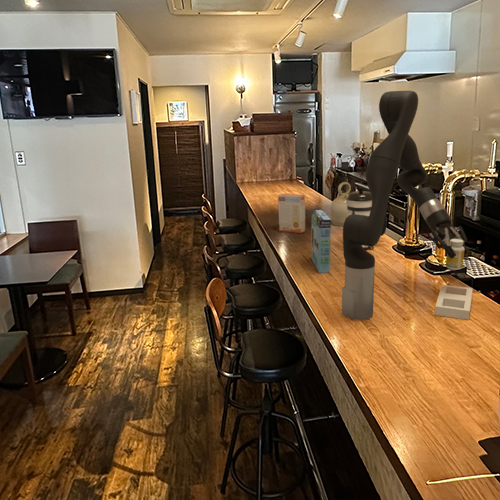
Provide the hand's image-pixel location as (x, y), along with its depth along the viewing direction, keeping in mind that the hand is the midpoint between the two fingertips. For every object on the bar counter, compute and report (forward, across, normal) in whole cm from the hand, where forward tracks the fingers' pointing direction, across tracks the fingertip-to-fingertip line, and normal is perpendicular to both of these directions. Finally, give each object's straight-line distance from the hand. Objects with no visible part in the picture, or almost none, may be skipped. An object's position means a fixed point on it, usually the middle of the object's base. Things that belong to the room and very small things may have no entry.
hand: (460, 255), depth 156 cm
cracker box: (-70, +3, +94) cm, 117 cm away
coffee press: (-37, +15, +60) cm, 72 cm away
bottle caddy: (+13, -4, +9) cm, 17 cm away
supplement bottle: (+2, 0, +5) cm, 5 cm away
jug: (-68, +37, +92) cm, 121 cm away
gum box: (-28, -18, +52) cm, 61 cm away
